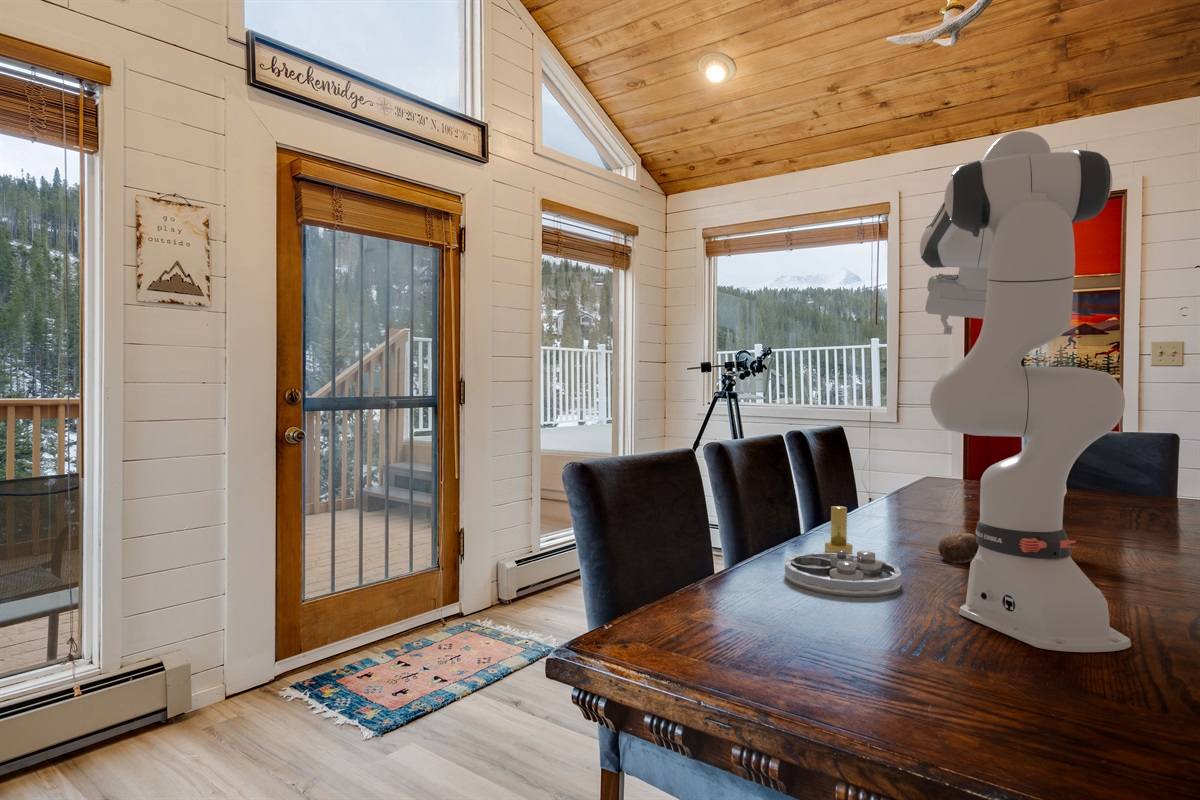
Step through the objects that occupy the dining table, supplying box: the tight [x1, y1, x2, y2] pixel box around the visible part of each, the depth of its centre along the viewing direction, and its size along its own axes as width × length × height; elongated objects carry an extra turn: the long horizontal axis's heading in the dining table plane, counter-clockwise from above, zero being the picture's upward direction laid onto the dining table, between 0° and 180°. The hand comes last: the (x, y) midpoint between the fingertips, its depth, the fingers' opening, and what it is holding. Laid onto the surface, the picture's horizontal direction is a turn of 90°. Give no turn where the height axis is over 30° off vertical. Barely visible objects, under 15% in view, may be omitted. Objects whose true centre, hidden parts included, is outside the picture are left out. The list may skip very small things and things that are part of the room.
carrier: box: [784, 550, 903, 598], centre depth 126 cm, size 20×20×5 cm
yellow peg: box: [824, 505, 854, 554], centre depth 146 cm, size 6×6×10 cm
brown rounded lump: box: [937, 532, 979, 564], centre depth 140 cm, size 8×8×6 cm
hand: (970, 336), depth 157 cm, fingers open, 8 cm apart
